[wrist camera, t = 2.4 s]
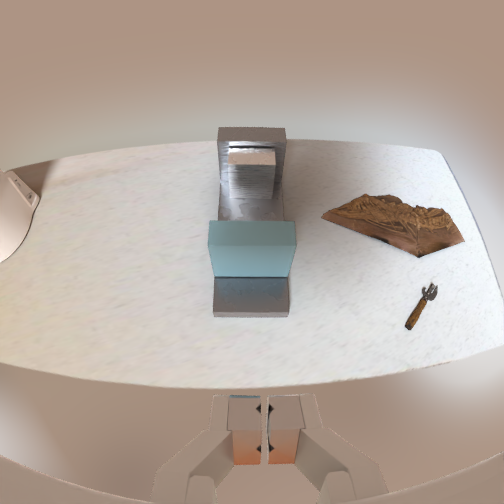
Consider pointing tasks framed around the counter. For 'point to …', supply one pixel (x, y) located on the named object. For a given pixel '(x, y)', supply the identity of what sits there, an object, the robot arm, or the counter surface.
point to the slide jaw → (251, 248)
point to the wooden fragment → (398, 223)
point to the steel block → (251, 172)
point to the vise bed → (250, 209)
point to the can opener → (421, 306)
